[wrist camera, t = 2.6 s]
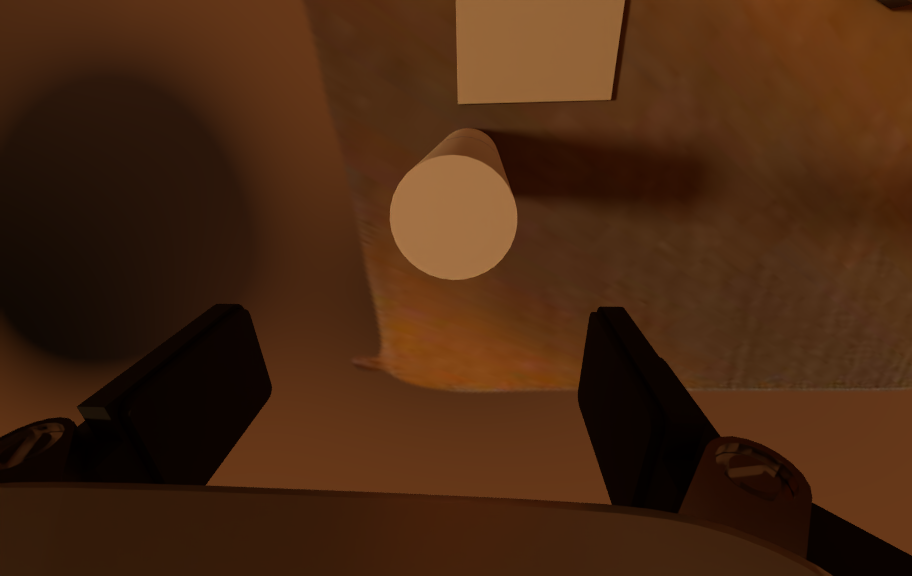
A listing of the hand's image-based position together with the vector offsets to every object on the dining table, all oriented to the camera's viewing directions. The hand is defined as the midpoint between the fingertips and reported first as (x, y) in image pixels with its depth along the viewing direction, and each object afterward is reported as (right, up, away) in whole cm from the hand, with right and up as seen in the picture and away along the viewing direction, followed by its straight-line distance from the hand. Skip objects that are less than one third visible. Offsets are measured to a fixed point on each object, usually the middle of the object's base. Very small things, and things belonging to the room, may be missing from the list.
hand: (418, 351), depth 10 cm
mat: (+9, +29, +26) cm, 40 cm away
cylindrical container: (+2, +17, +33) cm, 37 cm away
